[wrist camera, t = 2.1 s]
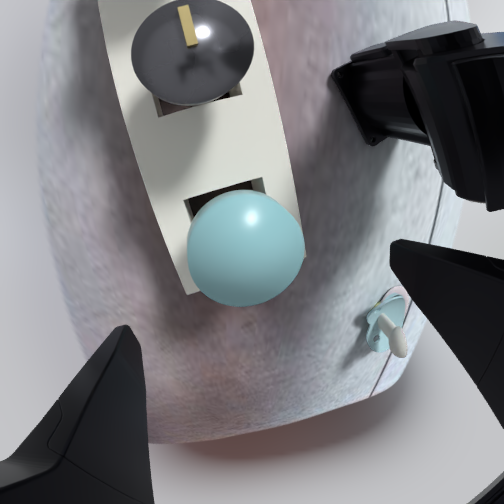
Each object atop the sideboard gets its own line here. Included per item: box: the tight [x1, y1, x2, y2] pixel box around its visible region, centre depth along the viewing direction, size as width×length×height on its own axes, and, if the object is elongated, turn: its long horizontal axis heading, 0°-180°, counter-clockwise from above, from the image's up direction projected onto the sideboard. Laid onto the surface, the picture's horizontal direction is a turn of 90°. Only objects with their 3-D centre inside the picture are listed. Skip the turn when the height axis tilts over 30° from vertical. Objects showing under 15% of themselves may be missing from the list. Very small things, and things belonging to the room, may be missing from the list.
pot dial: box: [131, 0, 254, 106], centre depth 10 cm, size 5×5×5 cm
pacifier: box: [366, 286, 409, 358], centre depth 26 cm, size 7×6×6 cm
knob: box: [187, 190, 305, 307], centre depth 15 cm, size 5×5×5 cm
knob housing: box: [98, 0, 306, 295], centre depth 14 cm, size 25×8×4 cm, turn 15°
